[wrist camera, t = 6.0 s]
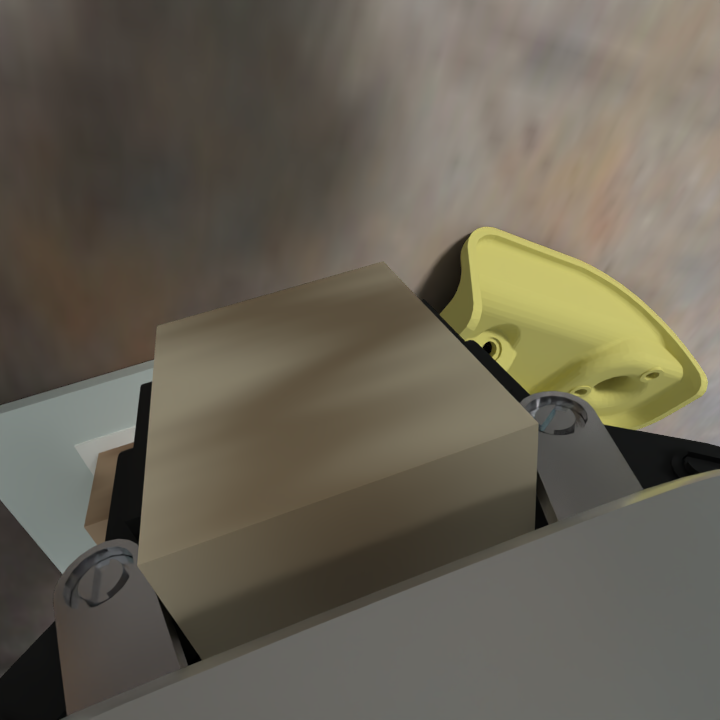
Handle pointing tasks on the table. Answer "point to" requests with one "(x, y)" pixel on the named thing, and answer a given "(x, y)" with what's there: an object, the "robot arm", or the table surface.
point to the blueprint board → (64, 454)
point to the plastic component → (571, 330)
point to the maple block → (321, 456)
